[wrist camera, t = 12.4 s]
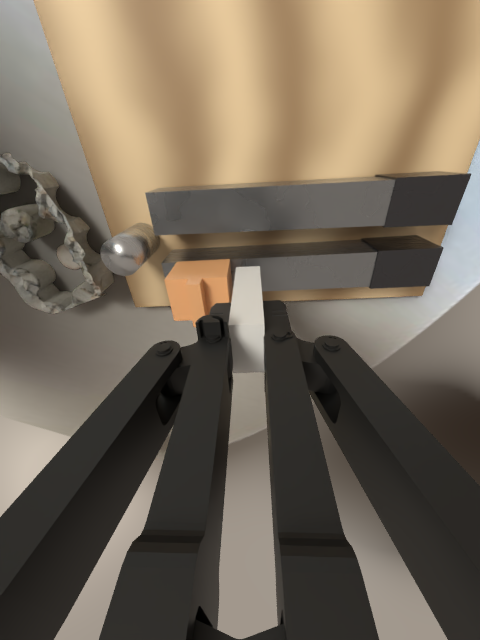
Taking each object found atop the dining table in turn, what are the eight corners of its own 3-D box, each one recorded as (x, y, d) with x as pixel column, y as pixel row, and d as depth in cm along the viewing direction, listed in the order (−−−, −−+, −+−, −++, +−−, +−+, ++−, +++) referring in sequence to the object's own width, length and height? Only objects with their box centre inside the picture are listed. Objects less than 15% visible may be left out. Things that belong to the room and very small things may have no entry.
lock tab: (184, 298, 19) (171, 327, 15) (176, 261, 17) (160, 285, 14) (233, 296, 18) (229, 326, 15) (230, 258, 17) (225, 282, 14)
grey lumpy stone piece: (130, 279, 23) (109, 301, 20) (65, 302, 25) (36, 326, 21) (44, 147, 18) (-4, 146, 14) (-32, 188, 19) (-92, 196, 16)
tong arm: (167, 226, 19) (154, 237, 16) (159, 186, 17) (144, 190, 15) (424, 215, 18) (451, 224, 15) (438, 171, 16) (471, 173, 14)
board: (140, 300, 24) (135, 307, 23) (33, -37, 13) (15, -53, 12) (414, 289, 22) (422, 295, 21) (549, -105, 12) (577, -130, 11)
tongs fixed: (142, 281, 22) (119, 307, 18) (124, 223, 19) (94, 239, 15) (406, 269, 20) (440, 294, 17) (425, 205, 18) (472, 218, 14)
